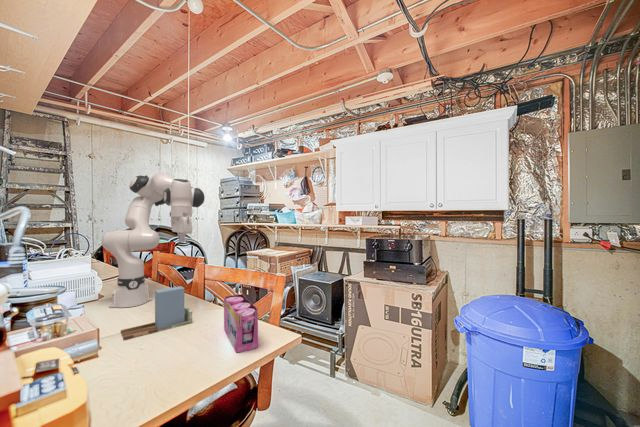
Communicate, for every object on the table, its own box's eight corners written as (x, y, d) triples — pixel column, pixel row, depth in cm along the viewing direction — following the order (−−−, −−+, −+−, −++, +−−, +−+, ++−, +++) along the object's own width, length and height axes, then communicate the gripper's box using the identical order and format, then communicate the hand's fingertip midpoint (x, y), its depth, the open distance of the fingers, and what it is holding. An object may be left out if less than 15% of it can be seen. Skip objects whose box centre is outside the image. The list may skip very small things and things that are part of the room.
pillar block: (155, 326, 114) (155, 290, 114) (181, 320, 121) (181, 286, 121) (157, 330, 110) (157, 292, 110) (184, 323, 117) (184, 288, 117)
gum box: (260, 349, 96) (260, 310, 96) (237, 355, 92) (237, 315, 92) (242, 325, 116) (242, 293, 116) (223, 329, 112) (223, 296, 112)
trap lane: (120, 334, 108) (120, 320, 108) (185, 318, 124) (185, 306, 124) (123, 342, 101) (123, 326, 101) (192, 324, 117) (192, 311, 117)
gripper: (195, 213, 124) (195, 243, 124) (182, 213, 139) (182, 240, 139) (180, 213, 119) (180, 244, 119) (168, 213, 135) (168, 241, 135)
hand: (181, 242), depth 129 cm, fingers closed
